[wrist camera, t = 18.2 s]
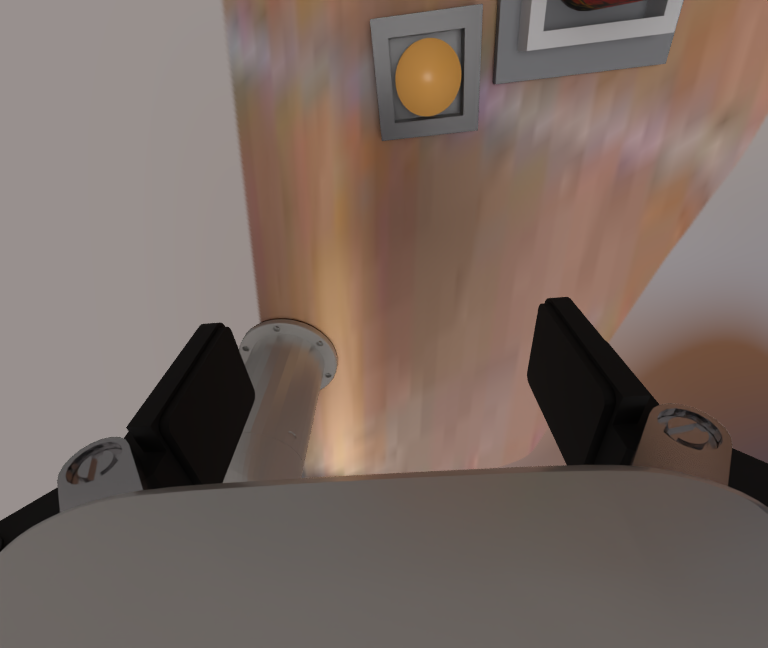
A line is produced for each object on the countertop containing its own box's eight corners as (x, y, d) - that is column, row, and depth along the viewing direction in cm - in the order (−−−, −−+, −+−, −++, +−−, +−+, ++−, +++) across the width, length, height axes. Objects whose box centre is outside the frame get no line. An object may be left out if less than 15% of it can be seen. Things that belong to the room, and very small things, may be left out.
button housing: (473, 125, 32) (477, 130, 31) (382, 136, 33) (381, 140, 31) (477, 6, 28) (482, 3, 26) (371, 21, 28) (369, 19, 27)
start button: (457, 109, 31) (460, 112, 29) (397, 116, 31) (398, 119, 30) (458, 34, 28) (462, 33, 27) (392, 42, 29) (392, 42, 27)
